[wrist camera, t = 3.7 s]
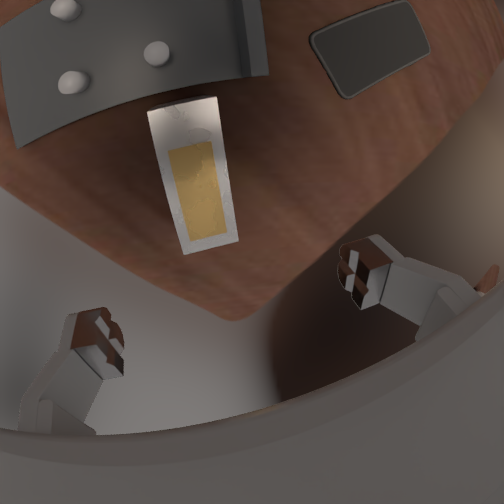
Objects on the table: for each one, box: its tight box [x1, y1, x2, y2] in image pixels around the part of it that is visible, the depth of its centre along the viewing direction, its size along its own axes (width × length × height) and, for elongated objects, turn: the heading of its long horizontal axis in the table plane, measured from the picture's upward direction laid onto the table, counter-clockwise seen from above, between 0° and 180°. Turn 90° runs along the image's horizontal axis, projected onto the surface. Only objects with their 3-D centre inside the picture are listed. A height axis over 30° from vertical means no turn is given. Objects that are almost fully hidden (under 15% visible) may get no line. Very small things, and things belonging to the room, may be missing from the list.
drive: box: [147, 95, 239, 255], centre depth 18 cm, size 10×4×6 cm, turn 6°
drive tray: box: [0, 0, 269, 149], centre depth 11 cm, size 12×20×4 cm, turn 96°
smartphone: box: [309, 0, 431, 99], centre depth 18 cm, size 7×1×15 cm
